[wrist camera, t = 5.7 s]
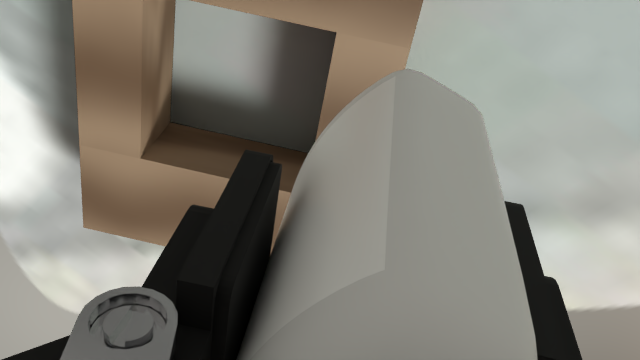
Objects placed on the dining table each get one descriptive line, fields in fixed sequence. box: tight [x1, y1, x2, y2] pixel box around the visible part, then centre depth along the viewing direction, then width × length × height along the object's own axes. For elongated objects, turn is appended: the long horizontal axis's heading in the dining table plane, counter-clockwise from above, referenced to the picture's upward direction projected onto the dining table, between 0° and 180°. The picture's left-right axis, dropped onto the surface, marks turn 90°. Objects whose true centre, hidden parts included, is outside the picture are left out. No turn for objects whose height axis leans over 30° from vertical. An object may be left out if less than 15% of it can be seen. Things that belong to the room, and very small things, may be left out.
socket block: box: [72, 0, 423, 255], centre depth 27 cm, size 18×14×4 cm
